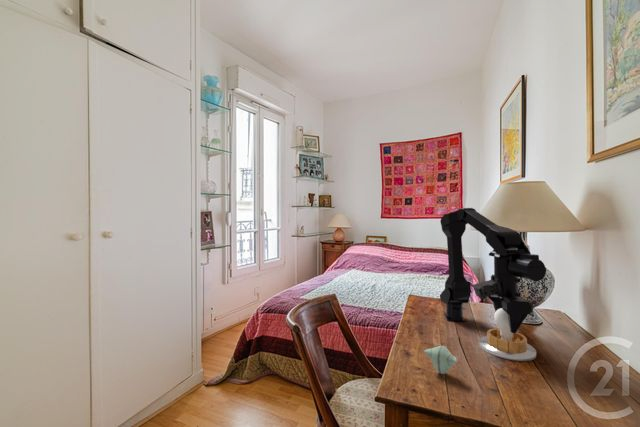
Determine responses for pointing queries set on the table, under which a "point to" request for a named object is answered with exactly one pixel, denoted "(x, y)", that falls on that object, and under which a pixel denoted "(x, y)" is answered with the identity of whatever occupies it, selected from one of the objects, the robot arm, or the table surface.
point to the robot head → (441, 358)
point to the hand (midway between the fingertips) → (506, 326)
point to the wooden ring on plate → (507, 346)
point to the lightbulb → (503, 324)
